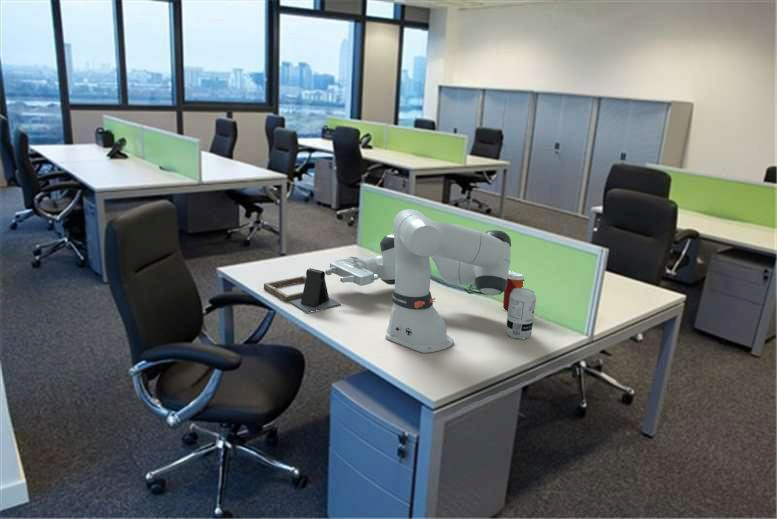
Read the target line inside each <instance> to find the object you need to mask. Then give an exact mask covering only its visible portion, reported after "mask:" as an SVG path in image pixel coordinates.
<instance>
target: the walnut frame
mask: <svg viewBox="0 0 777 519" xmlns="http://www.w3.org/2000/svg"><path fill="white" fill-rule="evenodd" d="M305 281H306V276H305V275H302V276H296V277H290V278H286V279H281V280H275V281H270V282H264V283H263V289H264V290H265V289H266V290H265V291H267V292H269V293H270V292H271V293H270V294H272V295H274V296H275V295H276V296H275V297H277V296H278V297H277V298H279V300H280V299H281V300H282V301H283V302H285V301H286V303H288V302H287V301H290V300H295V299H300V298H302V295H303V291H301V292H296V293H290V294H286V293H285V292H283V291H282V290H280V289H278V288H279V287H284V285H285V286H289V285H290V286H291V285H295V284H300V283H303V284H305ZM294 283H295V284H294ZM274 287H275V288H274Z"/></svg>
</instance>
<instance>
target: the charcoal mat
mask: <svg viewBox="0 0 777 519" xmlns="http://www.w3.org/2000/svg"><path fill="white" fill-rule="evenodd" d="M301 299H302V298H300V299H295V300H290V301H289V302H290V303H289V302H288V303H289V304H291V303H292V304H291V305H293V306H294V305H295V306H294V307H296V306H297V307H299V308H300V309H299V308H298V309H299V310H301V309H302V310H303V311H302V310H301V311H302V312H304V311H305V312H304V313H306V312H307V313H306V314H309V313H308V312H311V311H315V312H317V311H316V310H319V311H322V310H321V309H323V310H327V309H331V308H330V307H332V308H334V306H336V307H339V305H340V306H341V305H342V303H341V302H339V301H338V300H337V301H336V300H335V299H333V298H332V297H329V301H327V302H325V303H323V304H321V305H319V306H317V307H311V306H307V305H304V304H301ZM297 307H296V308H297ZM326 308H327V309H326ZM311 313H312V312H311Z"/></svg>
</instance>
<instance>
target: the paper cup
mask: <svg viewBox="0 0 777 519" xmlns="http://www.w3.org/2000/svg"><path fill="white" fill-rule="evenodd" d="M510 270H511V269H509V273H508V278H507V282H508V283H507V286H506V289H505V291H504V292H503V302H502V303H503V305H502V309H503V308H504V309H505V310H507V311H506V312H508V307H509V299H510V293H511V292H512V291H513V289H515V288H522V287H523V288H524V286H523V281H524V282H525V280H526V278H524V275H522V274H519V273H516V272H513V271H512V272H511V271H510ZM524 279H525V280H524ZM504 309H503V310H504ZM505 310H504V311H505Z"/></svg>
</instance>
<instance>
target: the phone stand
mask: <svg viewBox="0 0 777 519" xmlns="http://www.w3.org/2000/svg"><path fill="white" fill-rule="evenodd" d="M305 272H306V273H305V275H306V276H305V277H306V281H305V283H304V286H303V291H302V292H303V295H302V299H301V304H304V305H307V306H311V307H317V306H319V305H321V304H323V303H325V302H327V301H329V298H330V296H329V292H328V291H329V290H328V287H327V283H326V274H325V271H323V270H320V269H316V268H310V267H309V268H307V270H306V271H305Z"/></svg>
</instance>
